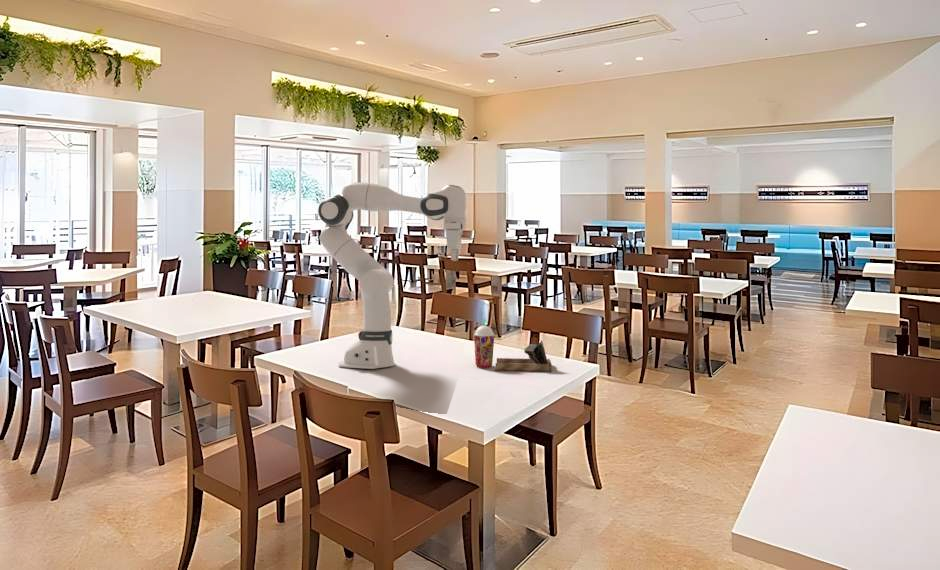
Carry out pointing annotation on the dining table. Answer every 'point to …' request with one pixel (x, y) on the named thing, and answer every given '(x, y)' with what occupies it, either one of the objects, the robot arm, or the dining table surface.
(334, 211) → the robot arm
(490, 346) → the smoothie
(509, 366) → the cradle
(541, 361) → the bell
